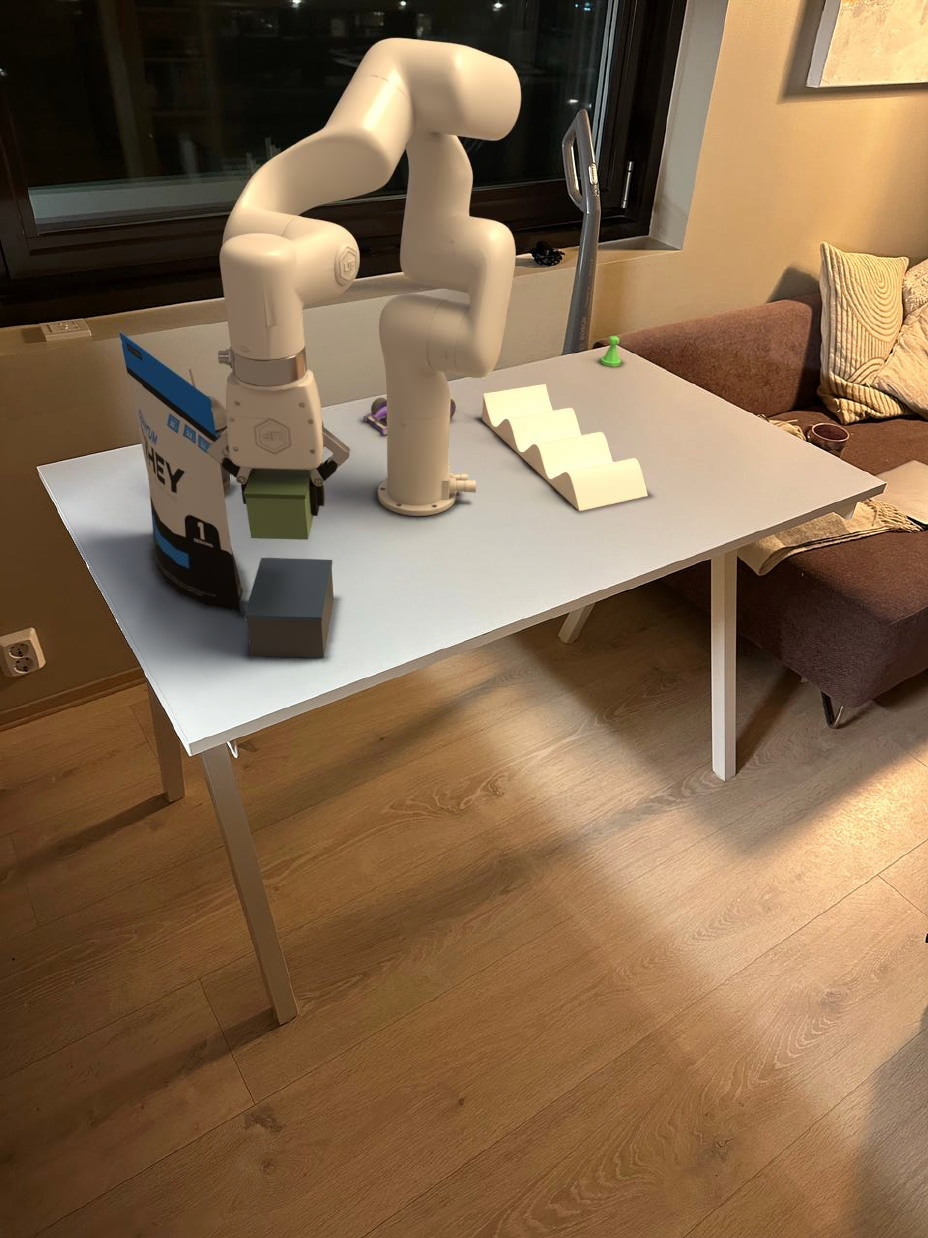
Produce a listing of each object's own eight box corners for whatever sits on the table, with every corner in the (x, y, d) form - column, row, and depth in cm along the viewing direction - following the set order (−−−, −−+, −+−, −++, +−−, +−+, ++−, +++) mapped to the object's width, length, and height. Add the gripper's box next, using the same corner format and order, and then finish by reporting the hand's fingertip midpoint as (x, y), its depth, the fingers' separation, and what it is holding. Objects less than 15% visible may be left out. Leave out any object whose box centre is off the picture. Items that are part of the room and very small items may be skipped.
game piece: (624, 363, 189) (629, 336, 185) (612, 368, 186) (616, 340, 183) (608, 357, 191) (613, 330, 188) (596, 362, 189) (600, 334, 185)
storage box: (265, 597, 118) (261, 557, 114) (334, 599, 119) (332, 559, 115) (249, 656, 109) (244, 615, 105) (324, 658, 109) (321, 617, 105)
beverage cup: (228, 504, 136) (210, 381, 124) (184, 497, 137) (162, 375, 125) (246, 481, 142) (231, 362, 130) (204, 475, 143) (185, 356, 130)
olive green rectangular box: (264, 492, 108) (259, 448, 104) (319, 493, 108) (316, 449, 104) (249, 538, 100) (243, 493, 96) (309, 540, 100) (305, 494, 96)
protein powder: (189, 522, 132) (154, 324, 113) (272, 601, 118) (249, 389, 99) (128, 542, 127) (81, 339, 108) (207, 627, 113) (170, 409, 94)
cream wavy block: (579, 511, 140) (583, 482, 137) (481, 419, 164) (483, 393, 161) (647, 496, 145) (653, 468, 141) (542, 409, 169) (545, 383, 166)
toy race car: (359, 418, 162) (358, 385, 158) (426, 401, 169) (427, 368, 165) (387, 439, 156) (387, 404, 152) (455, 420, 163) (457, 386, 159)
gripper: (177, 375, 89) (203, 524, 100) (350, 380, 89) (356, 528, 101) (194, 346, 94) (217, 490, 106) (356, 351, 95) (361, 494, 106)
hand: (285, 507), depth 103 cm, fingers closed on olive green rectangular box, 6 cm apart
